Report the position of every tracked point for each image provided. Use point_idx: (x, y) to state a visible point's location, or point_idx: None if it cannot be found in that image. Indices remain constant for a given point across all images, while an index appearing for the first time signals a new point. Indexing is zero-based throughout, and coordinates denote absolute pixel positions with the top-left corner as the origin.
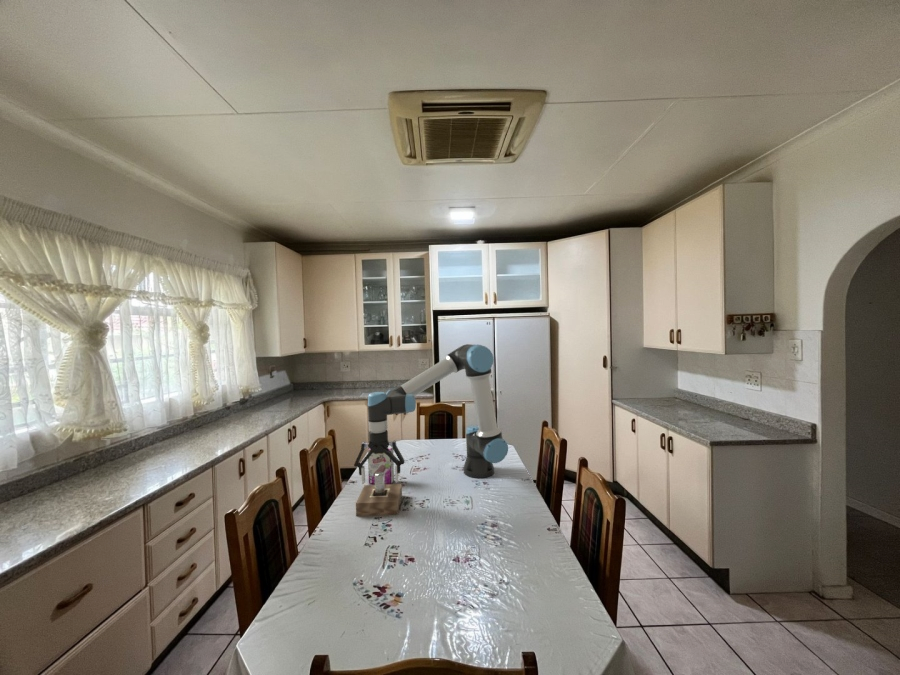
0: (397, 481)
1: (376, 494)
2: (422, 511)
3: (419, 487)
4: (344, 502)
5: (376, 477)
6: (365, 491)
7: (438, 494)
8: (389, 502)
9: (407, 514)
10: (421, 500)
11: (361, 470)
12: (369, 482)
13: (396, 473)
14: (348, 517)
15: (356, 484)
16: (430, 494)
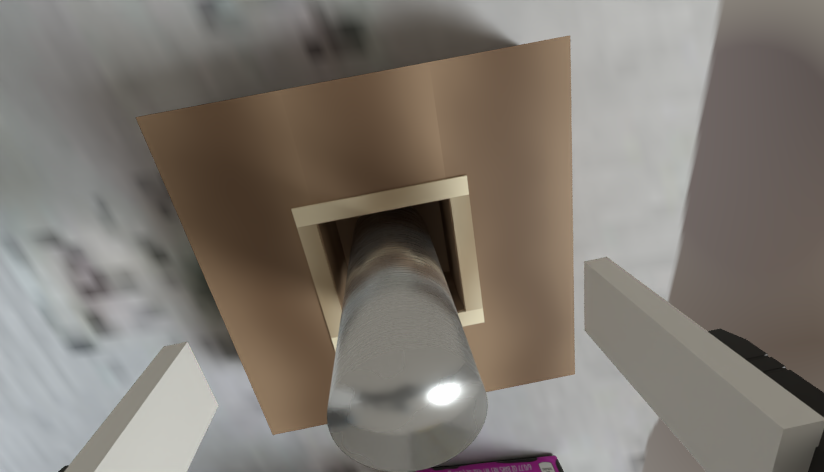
0: (164, 359)
1: (415, 233)
2: (15, 177)
3: (220, 466)
4: (656, 234)
5: (432, 331)
6: (537, 280)
7: (40, 411)
8: (221, 101)
9: (114, 117)
10: (118, 325)
11: (771, 380)
12: (554, 463)
13: (92, 447)
14: (577, 19)
15: (627, 440)
16: (98, 403)
